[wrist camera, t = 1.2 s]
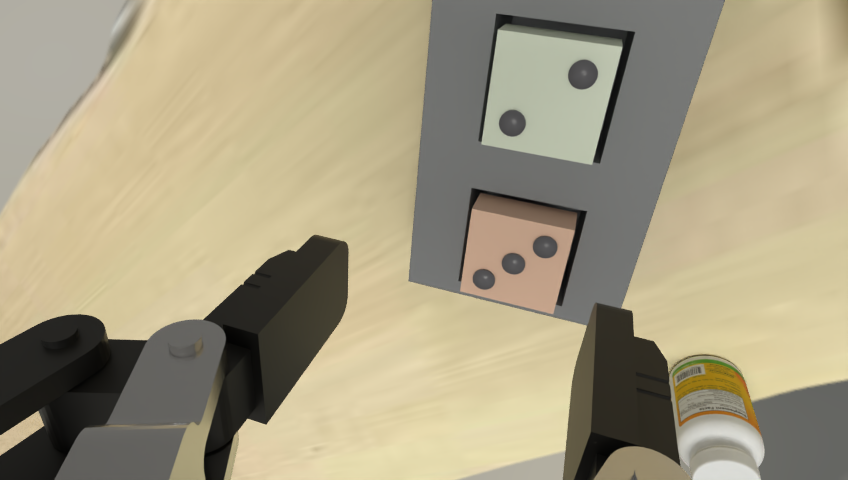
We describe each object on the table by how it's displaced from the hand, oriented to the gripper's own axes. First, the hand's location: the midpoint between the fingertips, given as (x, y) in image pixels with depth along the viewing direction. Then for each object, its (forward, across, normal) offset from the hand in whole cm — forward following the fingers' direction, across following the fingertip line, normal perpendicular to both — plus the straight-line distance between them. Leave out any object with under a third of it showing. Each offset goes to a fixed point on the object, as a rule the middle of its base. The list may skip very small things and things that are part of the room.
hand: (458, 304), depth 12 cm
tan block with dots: (+22, 0, +10) cm, 24 cm away
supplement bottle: (+28, -16, +22) cm, 39 cm away
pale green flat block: (+22, 0, 0) cm, 22 cm away
